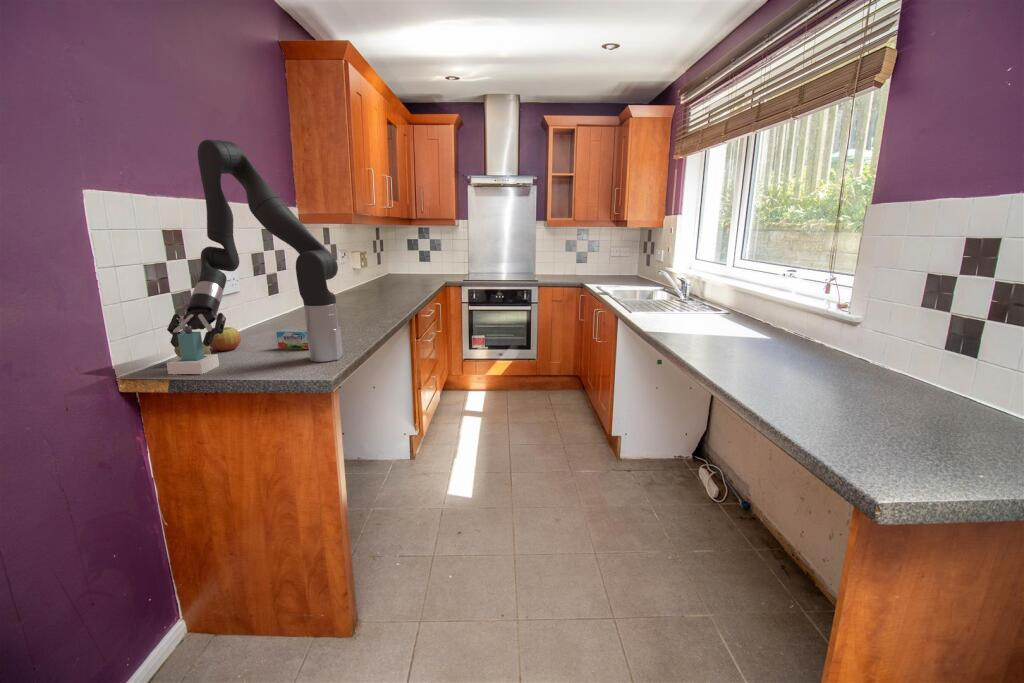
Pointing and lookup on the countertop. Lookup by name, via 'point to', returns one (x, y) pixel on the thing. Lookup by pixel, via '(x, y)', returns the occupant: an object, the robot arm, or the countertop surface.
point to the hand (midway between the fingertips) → (190, 345)
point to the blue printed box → (292, 340)
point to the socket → (193, 365)
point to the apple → (226, 340)
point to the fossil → (205, 348)
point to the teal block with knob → (190, 345)
